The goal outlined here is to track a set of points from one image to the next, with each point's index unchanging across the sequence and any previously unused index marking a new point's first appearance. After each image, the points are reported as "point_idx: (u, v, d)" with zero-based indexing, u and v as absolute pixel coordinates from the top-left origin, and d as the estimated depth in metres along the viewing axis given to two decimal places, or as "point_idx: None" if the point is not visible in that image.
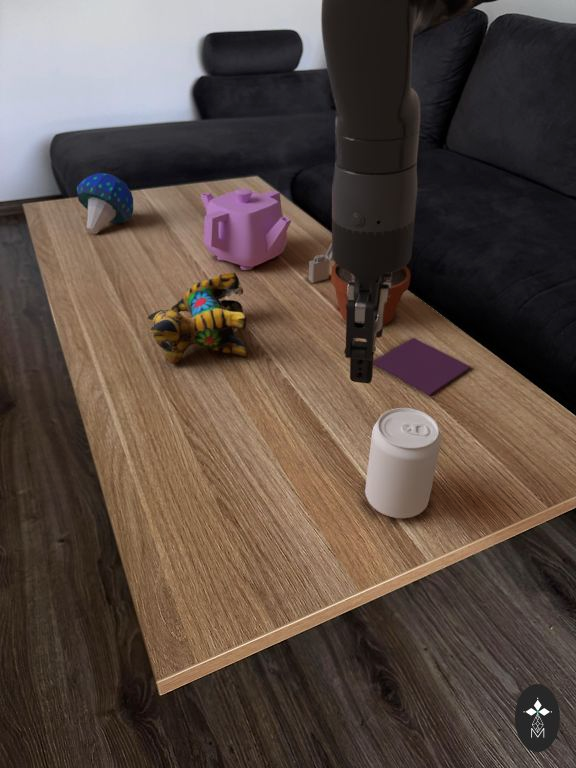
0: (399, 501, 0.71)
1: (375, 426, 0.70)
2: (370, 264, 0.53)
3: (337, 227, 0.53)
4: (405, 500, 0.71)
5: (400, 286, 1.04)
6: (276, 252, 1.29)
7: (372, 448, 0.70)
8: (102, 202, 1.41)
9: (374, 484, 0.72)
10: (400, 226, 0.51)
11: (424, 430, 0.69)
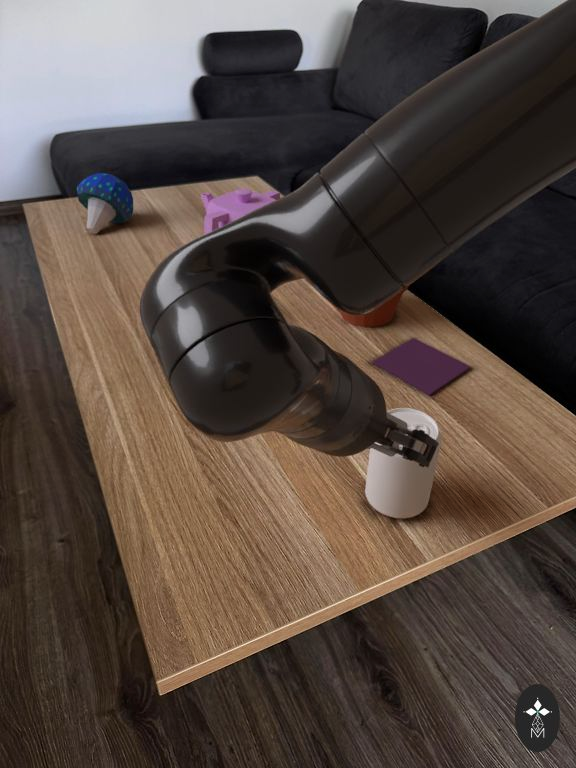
0: (399, 501, 0.71)
1: None
2: (381, 423, 0.48)
3: (339, 449, 0.46)
4: (405, 500, 0.71)
5: None
6: None
7: (372, 448, 0.70)
8: (102, 202, 1.41)
9: (374, 484, 0.72)
10: (369, 383, 0.45)
11: (424, 430, 0.69)
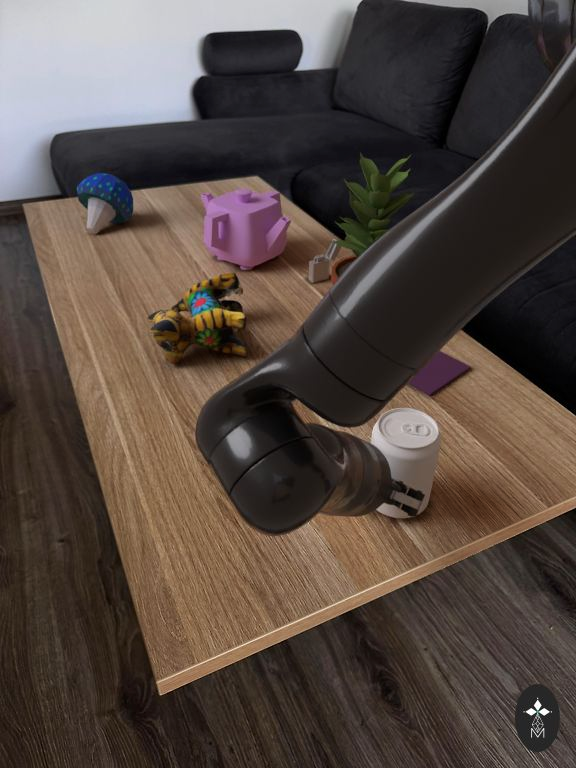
0: None
1: (375, 426, 0.70)
2: (387, 489, 0.56)
3: (353, 514, 0.54)
4: None
5: None
6: (276, 252, 1.29)
7: None
8: (102, 202, 1.41)
9: None
10: (377, 458, 0.53)
11: (424, 430, 0.69)
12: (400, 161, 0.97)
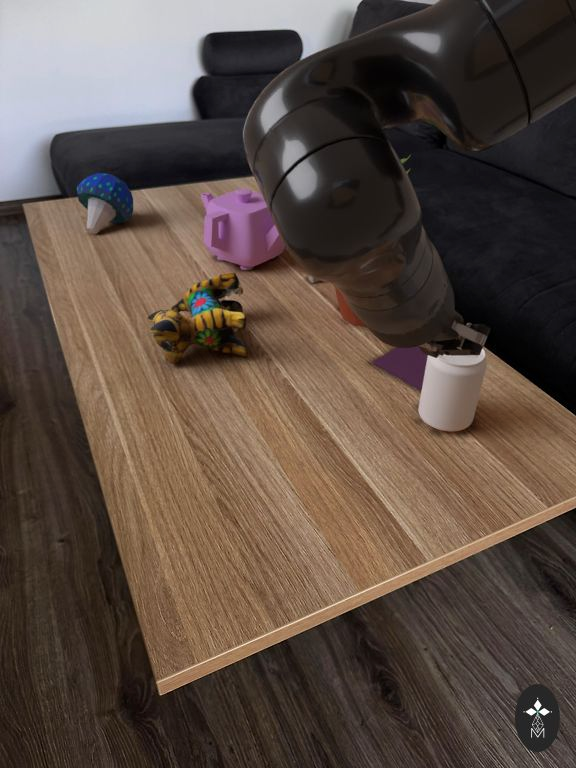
0: (449, 415, 0.84)
1: None
2: (451, 309, 0.47)
3: (412, 332, 0.45)
4: (454, 413, 0.84)
5: None
6: (276, 252, 1.29)
7: (428, 369, 0.83)
8: (102, 202, 1.41)
9: (428, 401, 0.85)
10: None
11: None
12: None
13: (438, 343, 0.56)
